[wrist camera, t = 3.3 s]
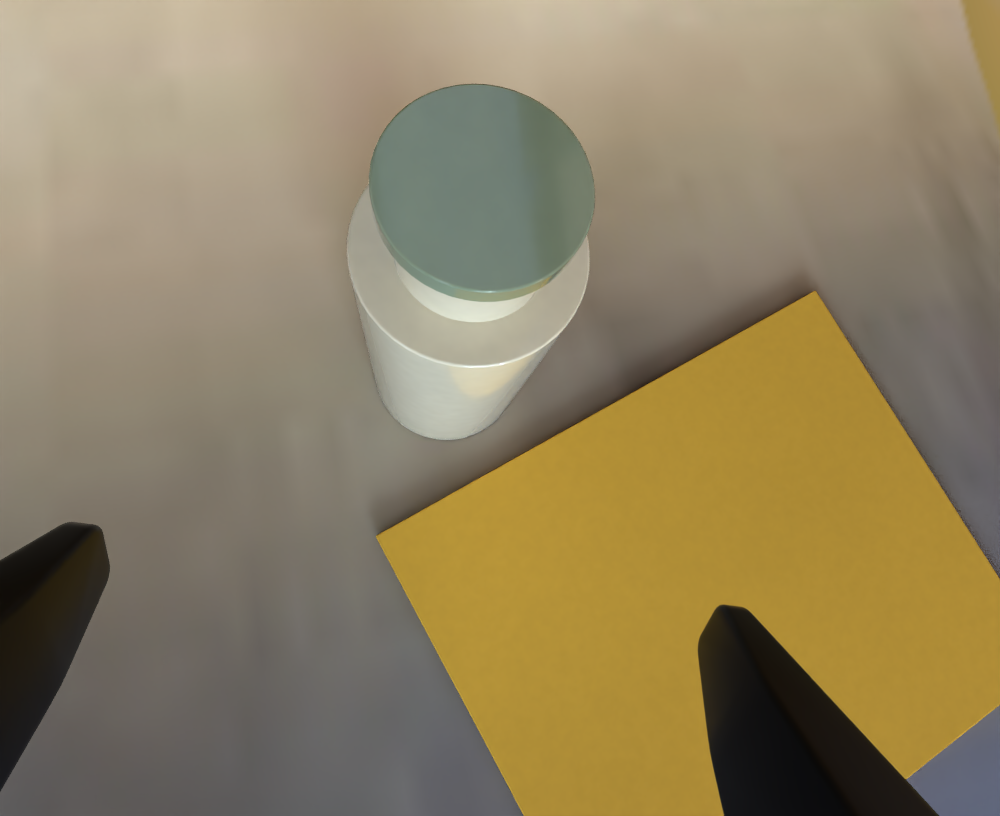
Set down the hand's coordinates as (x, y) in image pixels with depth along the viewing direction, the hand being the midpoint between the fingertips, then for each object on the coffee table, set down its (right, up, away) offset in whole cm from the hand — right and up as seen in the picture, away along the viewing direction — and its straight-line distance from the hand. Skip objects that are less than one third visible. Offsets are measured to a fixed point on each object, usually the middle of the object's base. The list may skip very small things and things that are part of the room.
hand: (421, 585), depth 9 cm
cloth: (+9, -4, +13) cm, 17 cm away
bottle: (-1, +4, +13) cm, 14 cm away
